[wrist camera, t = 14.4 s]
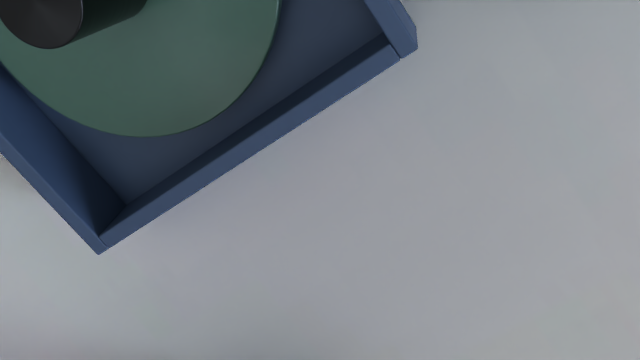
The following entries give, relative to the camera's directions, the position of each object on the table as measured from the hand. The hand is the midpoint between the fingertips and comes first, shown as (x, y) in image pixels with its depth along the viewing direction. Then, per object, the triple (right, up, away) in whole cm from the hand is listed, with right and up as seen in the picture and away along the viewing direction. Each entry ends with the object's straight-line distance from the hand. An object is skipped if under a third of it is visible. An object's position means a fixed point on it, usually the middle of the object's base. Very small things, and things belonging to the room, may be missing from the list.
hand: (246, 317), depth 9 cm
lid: (-5, +9, +10) cm, 14 cm away
